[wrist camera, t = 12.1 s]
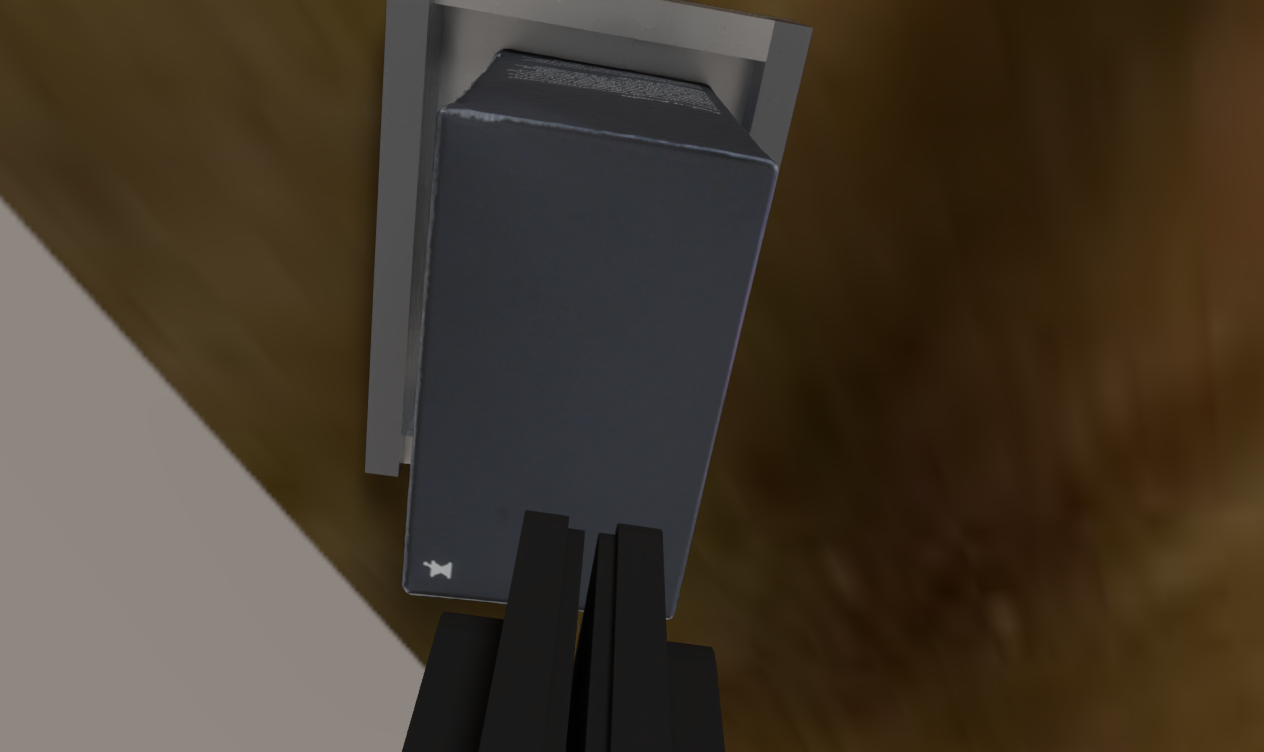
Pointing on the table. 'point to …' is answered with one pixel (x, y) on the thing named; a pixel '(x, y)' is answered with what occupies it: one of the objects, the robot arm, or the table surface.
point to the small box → (575, 314)
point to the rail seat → (553, 26)
